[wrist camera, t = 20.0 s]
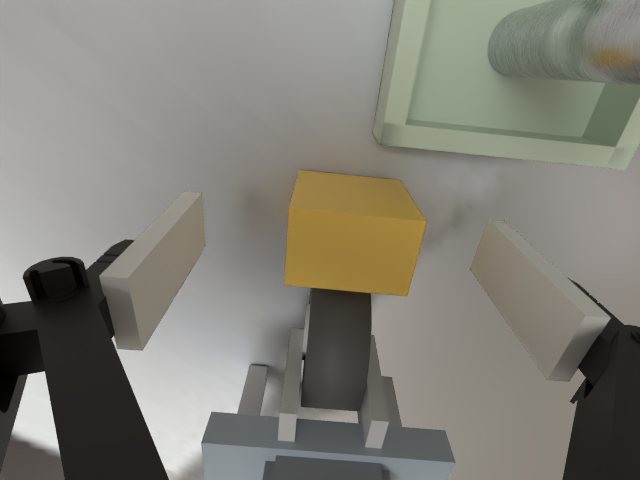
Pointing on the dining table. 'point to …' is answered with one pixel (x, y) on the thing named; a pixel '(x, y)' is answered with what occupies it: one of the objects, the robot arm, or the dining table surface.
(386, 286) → the block
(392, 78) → the tray
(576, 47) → the pin
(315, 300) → the cart
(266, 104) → the dining table surface
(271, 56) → the dining table surface
